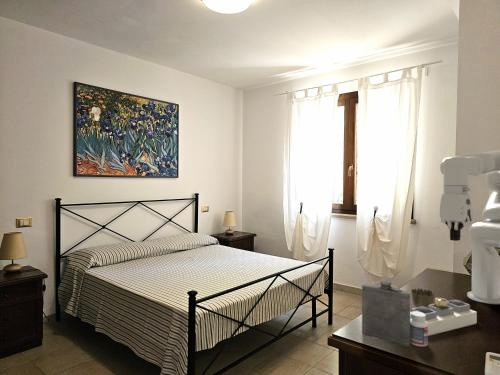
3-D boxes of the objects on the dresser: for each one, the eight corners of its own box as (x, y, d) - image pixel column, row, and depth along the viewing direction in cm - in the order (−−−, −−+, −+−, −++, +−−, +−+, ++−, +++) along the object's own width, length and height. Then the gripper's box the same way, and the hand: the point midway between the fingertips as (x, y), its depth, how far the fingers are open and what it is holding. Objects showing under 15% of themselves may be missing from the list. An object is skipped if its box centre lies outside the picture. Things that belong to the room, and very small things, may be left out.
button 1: (423, 313, 113) (423, 305, 113) (432, 317, 109) (432, 309, 109) (415, 314, 111) (415, 307, 111) (424, 319, 108) (424, 311, 108)
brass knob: (439, 304, 116) (439, 296, 116) (449, 307, 112) (449, 299, 112) (432, 305, 114) (432, 297, 114) (441, 309, 111) (441, 301, 111)
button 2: (455, 306, 119) (455, 299, 119) (465, 309, 115) (465, 302, 115) (448, 307, 117) (448, 300, 117) (458, 311, 114) (458, 303, 114)
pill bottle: (427, 348, 97) (427, 318, 97) (407, 344, 100) (407, 315, 100) (428, 341, 101) (428, 312, 101) (409, 337, 104) (409, 309, 104)
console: (451, 313, 122) (452, 297, 122) (476, 323, 114) (476, 306, 113) (404, 324, 113) (405, 307, 113) (427, 335, 105) (427, 317, 105)
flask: (364, 330, 109) (364, 275, 109) (411, 342, 101) (411, 284, 100) (360, 334, 107) (360, 278, 106) (408, 347, 98) (409, 287, 97)
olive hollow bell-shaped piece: (436, 317, 119) (436, 295, 119) (414, 315, 120) (414, 294, 120) (429, 309, 126) (430, 288, 126) (409, 308, 128) (409, 287, 127)
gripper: (483, 190, 116) (482, 242, 116) (443, 189, 130) (443, 236, 130) (468, 191, 113) (468, 244, 113) (430, 190, 127) (429, 237, 127)
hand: (455, 240), depth 122 cm, fingers closed
